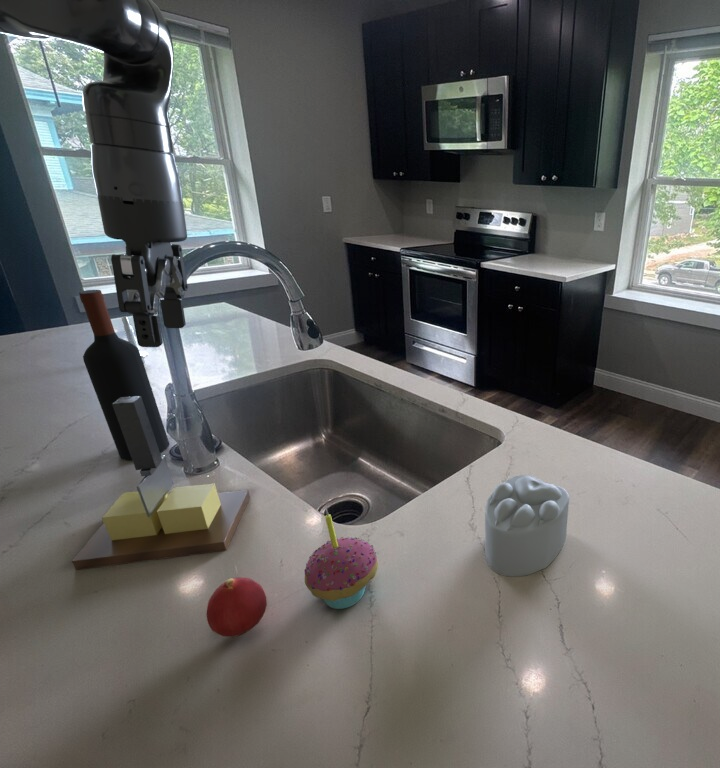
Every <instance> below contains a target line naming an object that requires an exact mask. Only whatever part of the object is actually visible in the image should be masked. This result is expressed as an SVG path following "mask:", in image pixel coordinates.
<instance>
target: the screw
mask: <svg viewBox="0 0 720 768" xmlns="http://www.w3.org/2000/svg"><path fill="white" fill-rule="evenodd" d="M121 321H122V325H123V330H124V332H125V334H124V335H125V336H126V339H127V341H129V342H131V343H132V344H133V345H135V346H136V347H137V348H138V349H139V350H140V347H139V345H138V342H137V337H136V334H135V332H134V328H133V326H132V325H131V323H130V321H129V318H128V316H125V315H124V316H122V317H121ZM140 354H141V357H142V360H143V363H146V360H145V358H147V357H148V356H149V353H148V352H146V351H140Z"/></svg>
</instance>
